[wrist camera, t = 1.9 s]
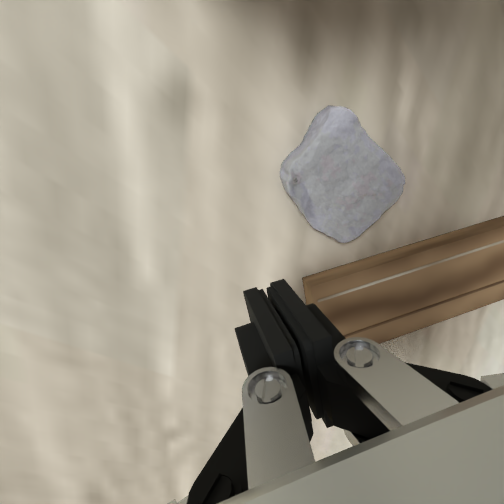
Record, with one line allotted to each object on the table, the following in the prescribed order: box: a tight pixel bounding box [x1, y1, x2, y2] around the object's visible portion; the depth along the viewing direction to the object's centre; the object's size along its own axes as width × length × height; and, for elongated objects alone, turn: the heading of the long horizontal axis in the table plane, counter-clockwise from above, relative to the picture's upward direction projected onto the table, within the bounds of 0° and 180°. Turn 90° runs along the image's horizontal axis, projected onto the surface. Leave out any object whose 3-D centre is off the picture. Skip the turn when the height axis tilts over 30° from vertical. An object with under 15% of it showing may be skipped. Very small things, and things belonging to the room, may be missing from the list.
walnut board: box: [302, 216, 504, 344], centre depth 37 cm, size 11×32×3 cm, turn 102°
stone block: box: [280, 106, 405, 243], centre depth 30 cm, size 12×5×10 cm
